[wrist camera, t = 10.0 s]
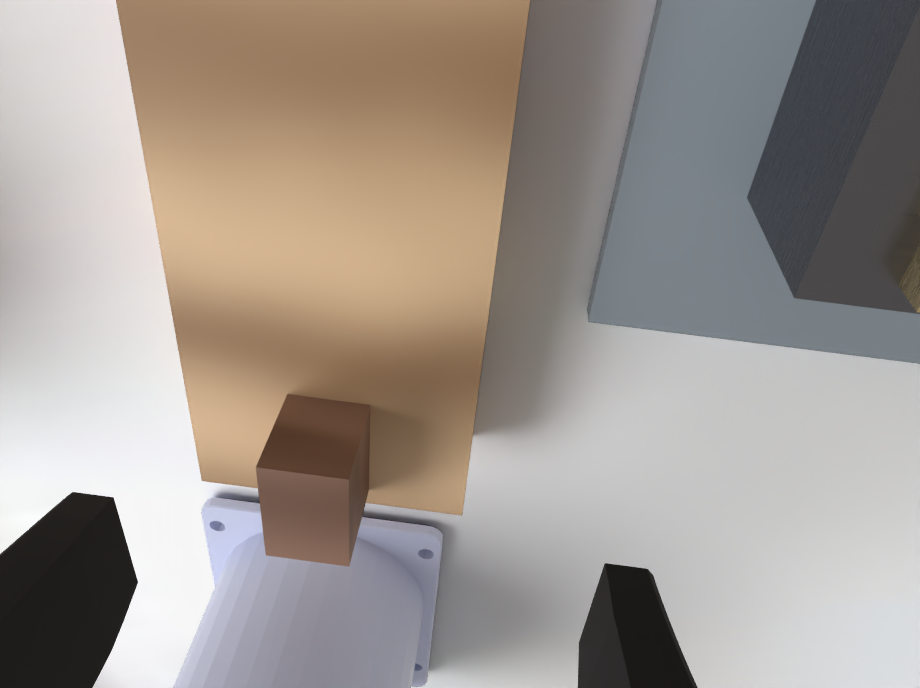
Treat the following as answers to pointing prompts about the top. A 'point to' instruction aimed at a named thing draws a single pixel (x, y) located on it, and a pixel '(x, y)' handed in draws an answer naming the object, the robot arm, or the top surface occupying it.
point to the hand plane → (328, 240)
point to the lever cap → (848, 159)
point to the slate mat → (717, 192)
